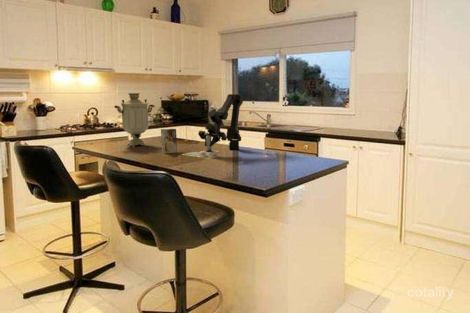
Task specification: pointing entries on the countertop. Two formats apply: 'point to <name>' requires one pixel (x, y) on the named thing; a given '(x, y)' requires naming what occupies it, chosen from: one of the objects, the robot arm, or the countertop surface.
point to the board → (204, 154)
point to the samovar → (135, 117)
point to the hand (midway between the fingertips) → (207, 146)
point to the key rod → (208, 143)
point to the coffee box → (169, 140)
